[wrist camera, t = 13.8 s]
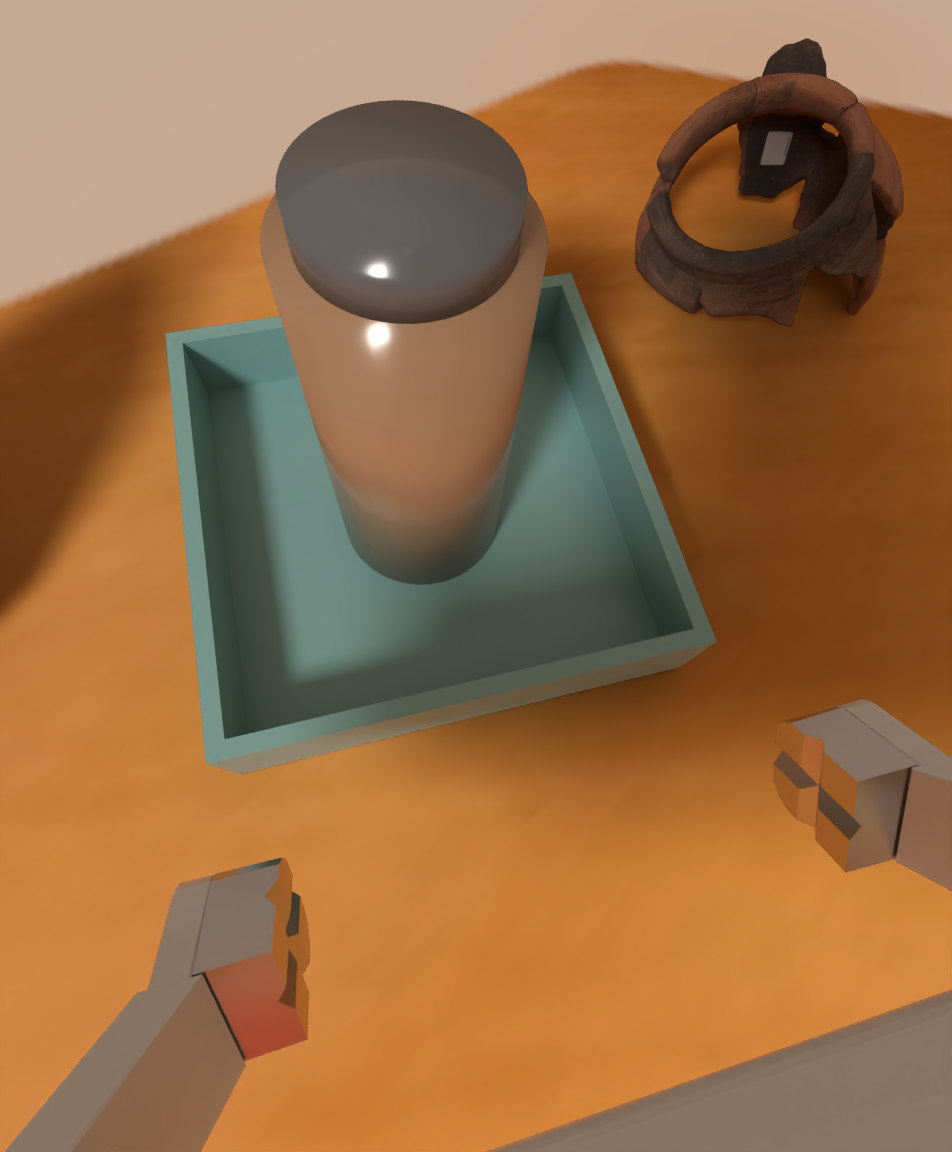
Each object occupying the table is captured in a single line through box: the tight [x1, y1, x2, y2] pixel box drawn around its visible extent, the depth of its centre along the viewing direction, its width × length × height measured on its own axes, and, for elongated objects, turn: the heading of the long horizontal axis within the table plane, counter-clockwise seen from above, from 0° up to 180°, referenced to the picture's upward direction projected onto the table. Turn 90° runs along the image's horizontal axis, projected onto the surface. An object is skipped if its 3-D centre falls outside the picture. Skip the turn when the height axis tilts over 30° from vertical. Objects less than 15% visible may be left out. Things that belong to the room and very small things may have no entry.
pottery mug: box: [635, 39, 904, 327], centre depth 26 cm, size 12×10×8 cm
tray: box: [165, 273, 717, 774], centre depth 21 cm, size 14×14×3 cm
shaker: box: [260, 100, 548, 585], centre depth 16 cm, size 5×5×12 cm
